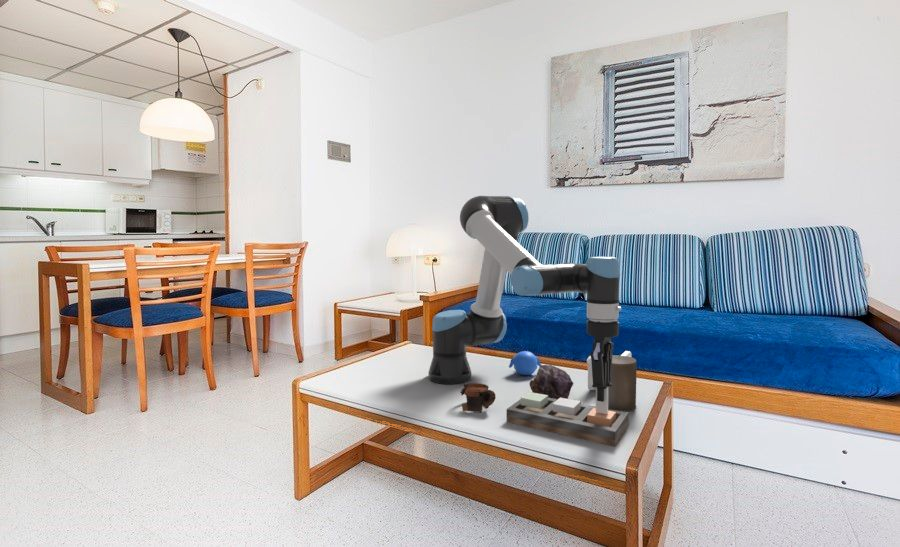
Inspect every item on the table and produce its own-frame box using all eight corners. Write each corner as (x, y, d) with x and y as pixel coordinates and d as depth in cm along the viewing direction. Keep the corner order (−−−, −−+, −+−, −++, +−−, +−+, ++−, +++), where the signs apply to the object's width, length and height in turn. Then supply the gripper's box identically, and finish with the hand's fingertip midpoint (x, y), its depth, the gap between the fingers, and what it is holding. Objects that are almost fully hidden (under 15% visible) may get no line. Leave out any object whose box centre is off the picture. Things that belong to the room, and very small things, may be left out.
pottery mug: (452, 411, 132) (454, 382, 136) (472, 417, 139) (473, 389, 142) (486, 409, 125) (487, 379, 129) (505, 416, 132) (506, 386, 135)
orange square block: (587, 422, 115) (587, 414, 115) (593, 415, 120) (593, 407, 120) (610, 427, 112) (610, 419, 112) (615, 419, 117) (616, 411, 117)
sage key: (520, 404, 125) (520, 397, 125) (529, 398, 130) (529, 391, 130) (540, 408, 122) (540, 401, 122) (548, 402, 127) (548, 395, 127)
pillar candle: (643, 406, 133) (643, 355, 132) (622, 414, 127) (623, 360, 126) (613, 397, 141) (614, 349, 139) (593, 404, 135) (593, 354, 134)
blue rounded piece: (535, 368, 174) (535, 345, 173) (545, 377, 162) (545, 353, 161) (503, 369, 172) (503, 347, 172) (511, 379, 160) (511, 355, 160)
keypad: (506, 421, 123) (506, 409, 123) (527, 405, 135) (527, 393, 135) (615, 446, 108) (615, 431, 108) (628, 425, 119) (628, 412, 119)
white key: (552, 411, 120) (552, 403, 120) (560, 404, 125) (560, 397, 125) (573, 415, 117) (573, 407, 117) (580, 408, 122) (580, 401, 122)
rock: (558, 409, 135) (577, 399, 142) (562, 381, 133) (581, 372, 140) (525, 393, 144) (544, 384, 151) (528, 366, 142) (547, 359, 149)
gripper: (611, 325, 107) (610, 424, 109) (624, 316, 118) (623, 407, 119) (579, 322, 111) (578, 418, 113) (594, 314, 122) (594, 401, 123)
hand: (601, 412), depth 116 cm, fingers closed
